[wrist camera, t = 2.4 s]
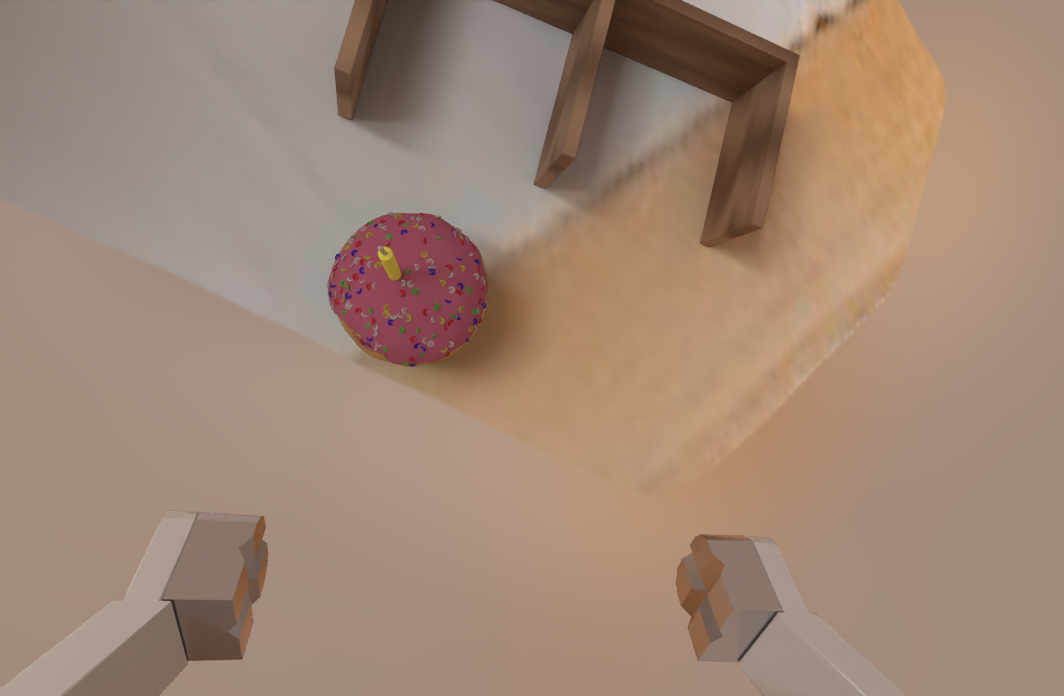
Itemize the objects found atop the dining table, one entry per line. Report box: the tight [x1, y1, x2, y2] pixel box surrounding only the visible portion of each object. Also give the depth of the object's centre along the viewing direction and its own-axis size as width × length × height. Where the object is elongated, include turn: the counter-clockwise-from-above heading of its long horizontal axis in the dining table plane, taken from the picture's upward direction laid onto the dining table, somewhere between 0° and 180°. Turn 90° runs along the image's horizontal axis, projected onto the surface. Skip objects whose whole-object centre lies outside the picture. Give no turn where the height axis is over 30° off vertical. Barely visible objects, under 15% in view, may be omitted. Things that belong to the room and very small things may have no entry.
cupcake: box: [327, 213, 487, 367], centre depth 32 cm, size 9×8×12 cm
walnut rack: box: [335, 0, 800, 247], centre depth 36 cm, size 12×26×11 cm, turn 75°
